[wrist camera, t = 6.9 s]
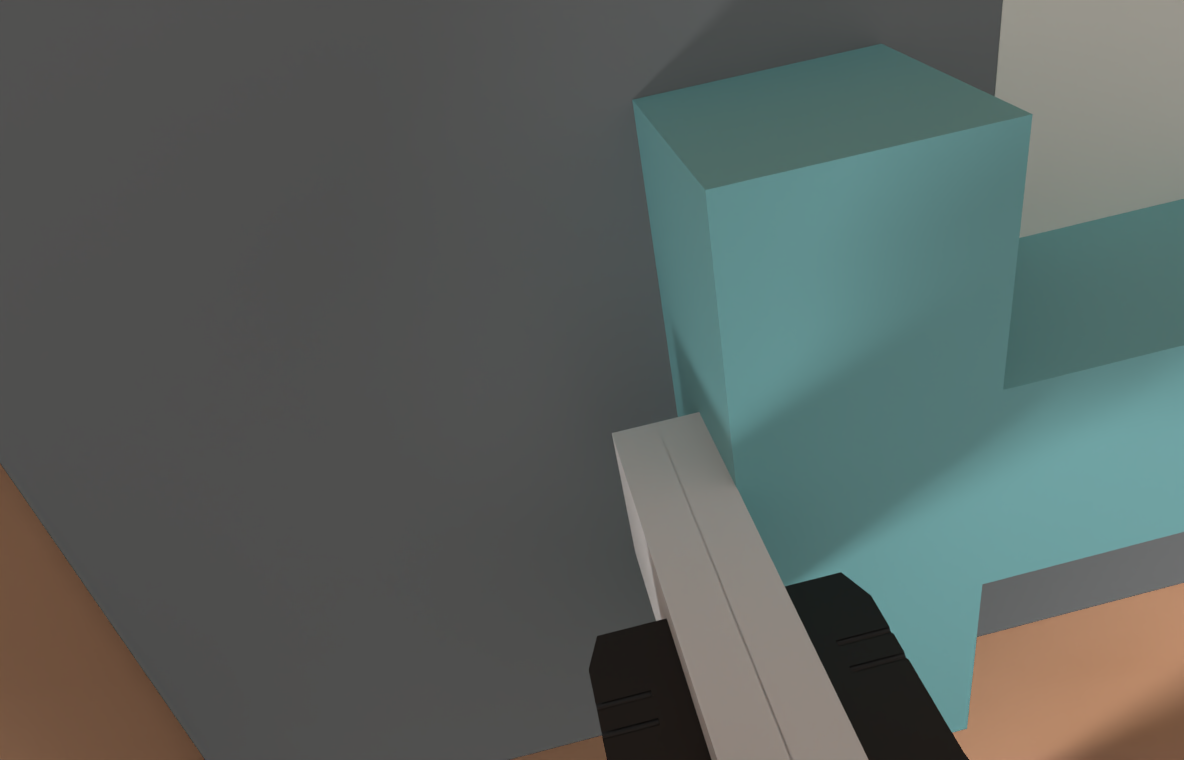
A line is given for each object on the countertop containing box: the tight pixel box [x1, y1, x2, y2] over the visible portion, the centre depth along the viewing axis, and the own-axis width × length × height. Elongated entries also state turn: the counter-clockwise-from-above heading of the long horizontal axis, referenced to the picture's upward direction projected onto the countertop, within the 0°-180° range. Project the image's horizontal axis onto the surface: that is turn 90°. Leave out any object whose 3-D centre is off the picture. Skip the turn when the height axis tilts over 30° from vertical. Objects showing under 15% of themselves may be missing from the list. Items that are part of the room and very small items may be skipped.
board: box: [0, 0, 1184, 760], centre depth 17 cm, size 18×34×1 cm, turn 100°
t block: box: [632, 44, 1184, 732], centre depth 16 cm, size 12×12×4 cm
